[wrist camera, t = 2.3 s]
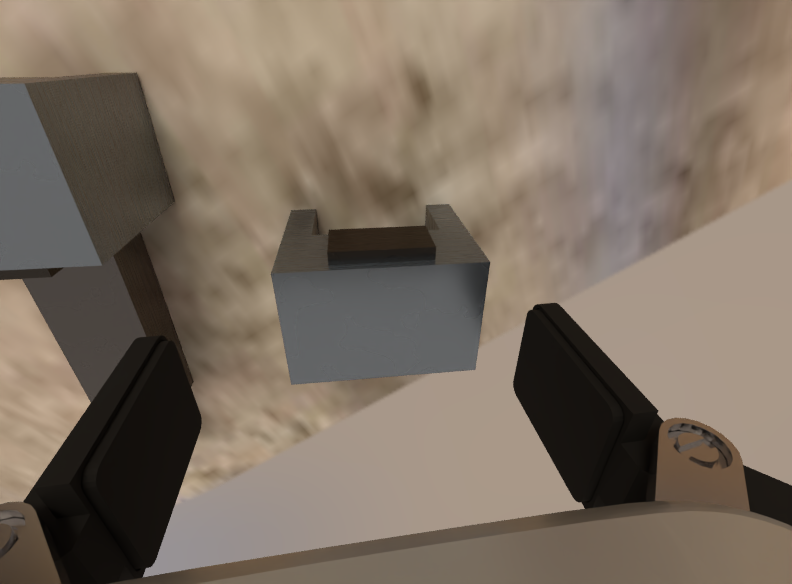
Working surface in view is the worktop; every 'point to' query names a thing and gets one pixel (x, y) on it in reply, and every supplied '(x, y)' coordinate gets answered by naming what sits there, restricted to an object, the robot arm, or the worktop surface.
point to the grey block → (379, 298)
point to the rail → (104, 312)
